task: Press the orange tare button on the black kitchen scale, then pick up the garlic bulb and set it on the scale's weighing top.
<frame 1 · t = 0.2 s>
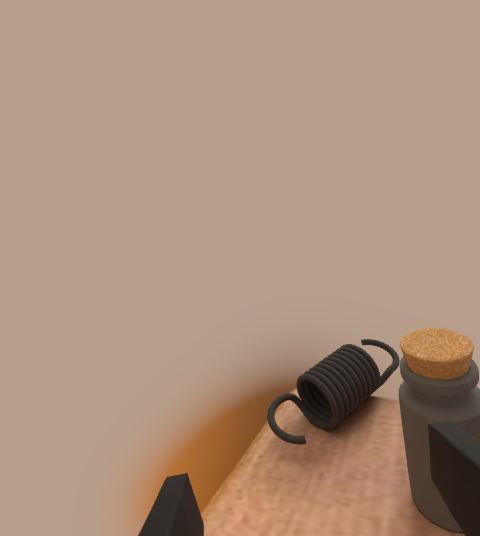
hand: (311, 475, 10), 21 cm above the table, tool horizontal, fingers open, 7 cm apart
coil: (348, 376, 37), point 6 cm above the table
bottle: (449, 500, 29), on the table
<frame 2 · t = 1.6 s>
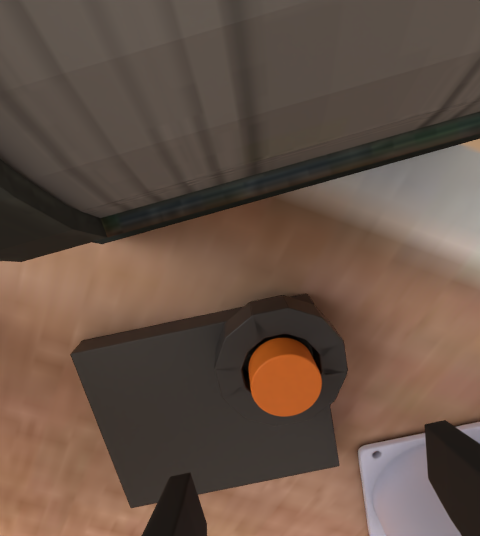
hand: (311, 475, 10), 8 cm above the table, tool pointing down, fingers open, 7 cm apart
tare button: (283, 376, 15), point 3 cm above the table, slide at 0.1 cm
scale: (215, 397, 19), on the table
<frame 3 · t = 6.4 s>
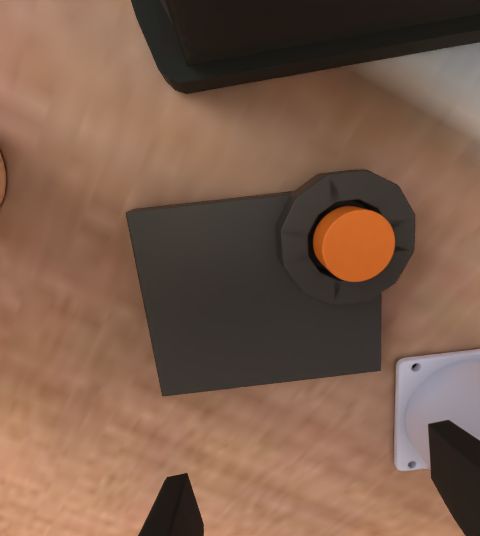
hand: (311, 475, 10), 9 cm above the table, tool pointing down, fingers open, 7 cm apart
tare button: (352, 243, 14), point 3 cm above the table, slide at 0.1 cm
scale: (261, 289, 18), on the table
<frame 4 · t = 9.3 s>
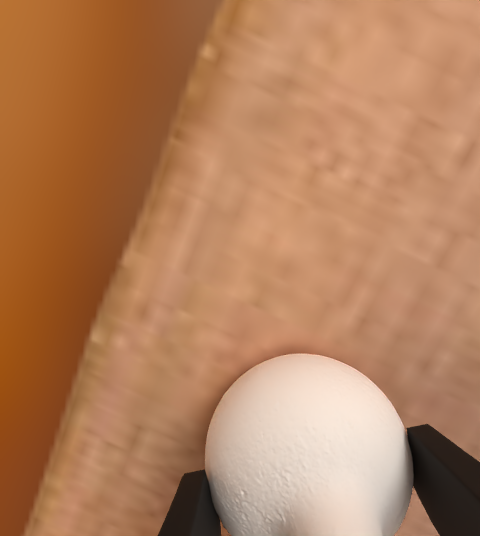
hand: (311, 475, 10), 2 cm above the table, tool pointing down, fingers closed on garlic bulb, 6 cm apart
garlic bulb: (293, 414, 12), on the table, touching gripper
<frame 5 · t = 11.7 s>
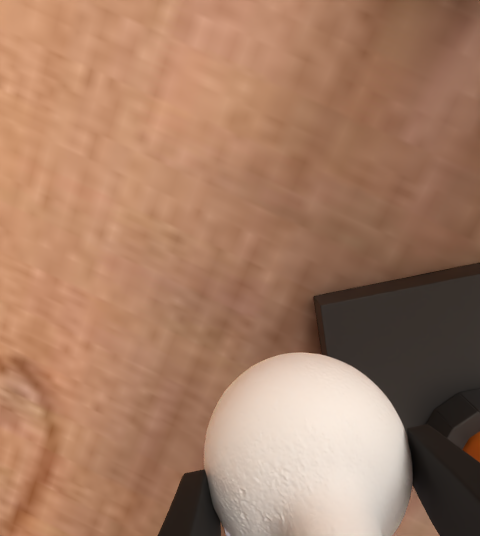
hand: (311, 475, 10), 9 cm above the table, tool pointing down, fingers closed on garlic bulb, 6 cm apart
garlic bulb: (292, 413, 12), point 7 cm above the table, touching gripper
scale: (409, 371, 20), on the table
when the fingers open (4 cm above the table, at t = 14.5 s): garlic bulb stays where it is, resting on scale.
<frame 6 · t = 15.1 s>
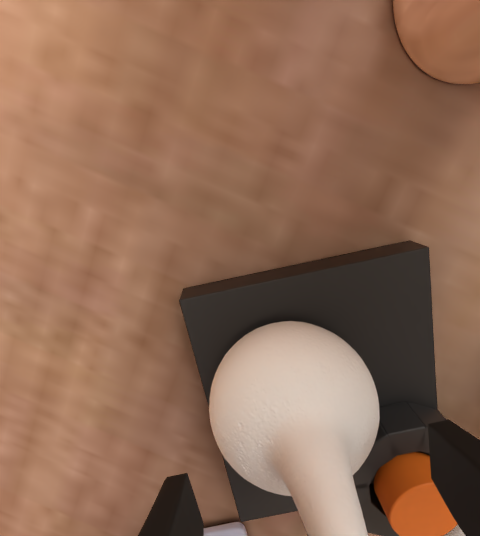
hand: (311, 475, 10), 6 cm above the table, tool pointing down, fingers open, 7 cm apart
garlic bulb: (283, 375, 15), point 1 cm above the table, touching scale
tare button: (416, 495, 14), point 3 cm above the table, slide at 0.1 cm
scale: (315, 381, 16), on the table
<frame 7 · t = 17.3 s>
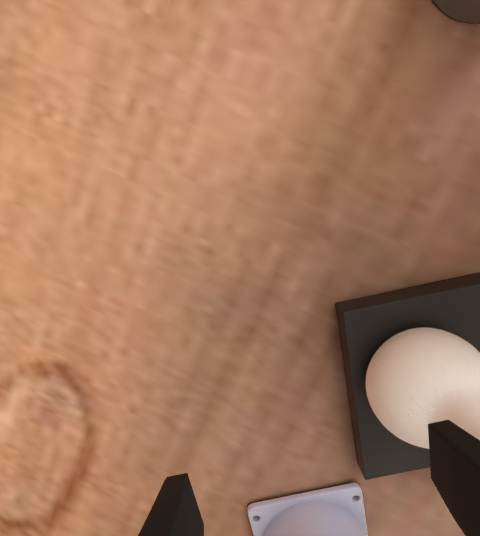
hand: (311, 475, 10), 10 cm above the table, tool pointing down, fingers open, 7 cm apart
garlic bulb: (409, 367, 20), point 1 cm above the table, touching scale
scale: (424, 372, 21), on the table
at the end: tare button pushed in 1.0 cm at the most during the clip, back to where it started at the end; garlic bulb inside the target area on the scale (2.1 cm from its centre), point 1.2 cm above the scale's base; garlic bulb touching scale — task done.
